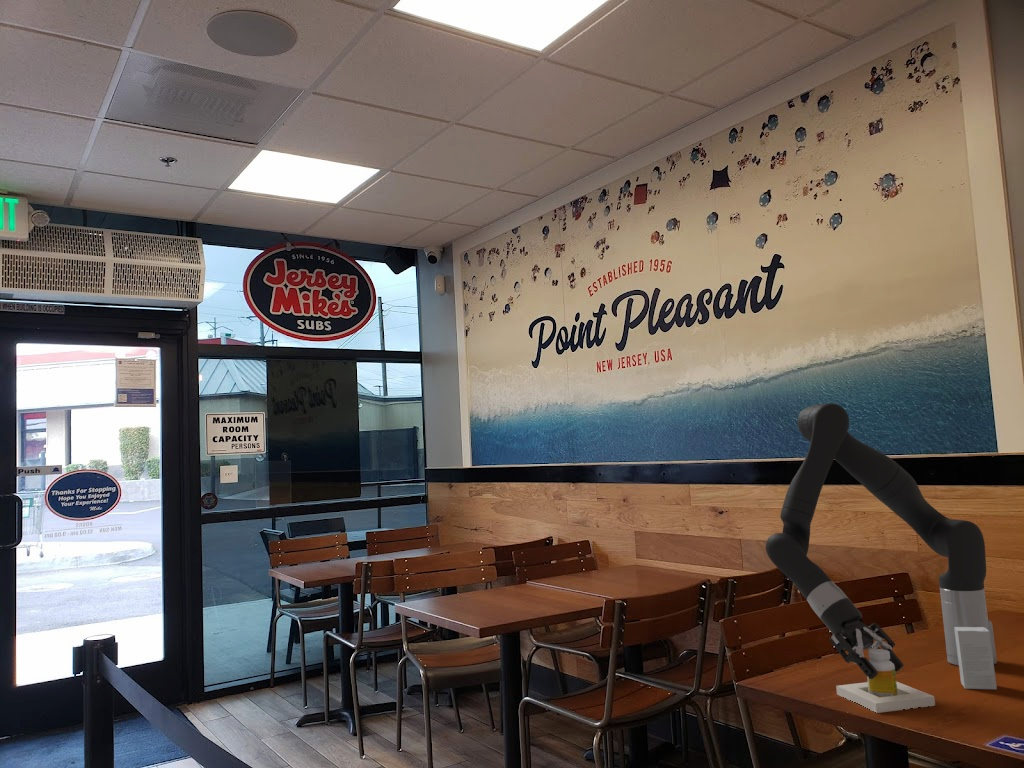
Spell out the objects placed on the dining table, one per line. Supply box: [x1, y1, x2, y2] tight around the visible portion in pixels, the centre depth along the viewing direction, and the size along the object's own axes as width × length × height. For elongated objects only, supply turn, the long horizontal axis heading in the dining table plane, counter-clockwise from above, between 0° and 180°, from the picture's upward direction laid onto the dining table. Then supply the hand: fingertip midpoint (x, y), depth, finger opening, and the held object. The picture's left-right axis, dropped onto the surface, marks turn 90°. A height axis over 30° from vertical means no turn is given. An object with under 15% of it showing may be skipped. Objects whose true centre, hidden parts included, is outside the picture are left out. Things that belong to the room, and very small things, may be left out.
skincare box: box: [954, 627, 998, 690], centre depth 165 cm, size 6×4×12 cm
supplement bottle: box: [866, 648, 898, 698], centre depth 160 cm, size 5×5×10 cm
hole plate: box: [835, 681, 936, 714], centre depth 159 cm, size 13×13×2 cm
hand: (887, 672), depth 159 cm, fingers open, 8 cm apart
